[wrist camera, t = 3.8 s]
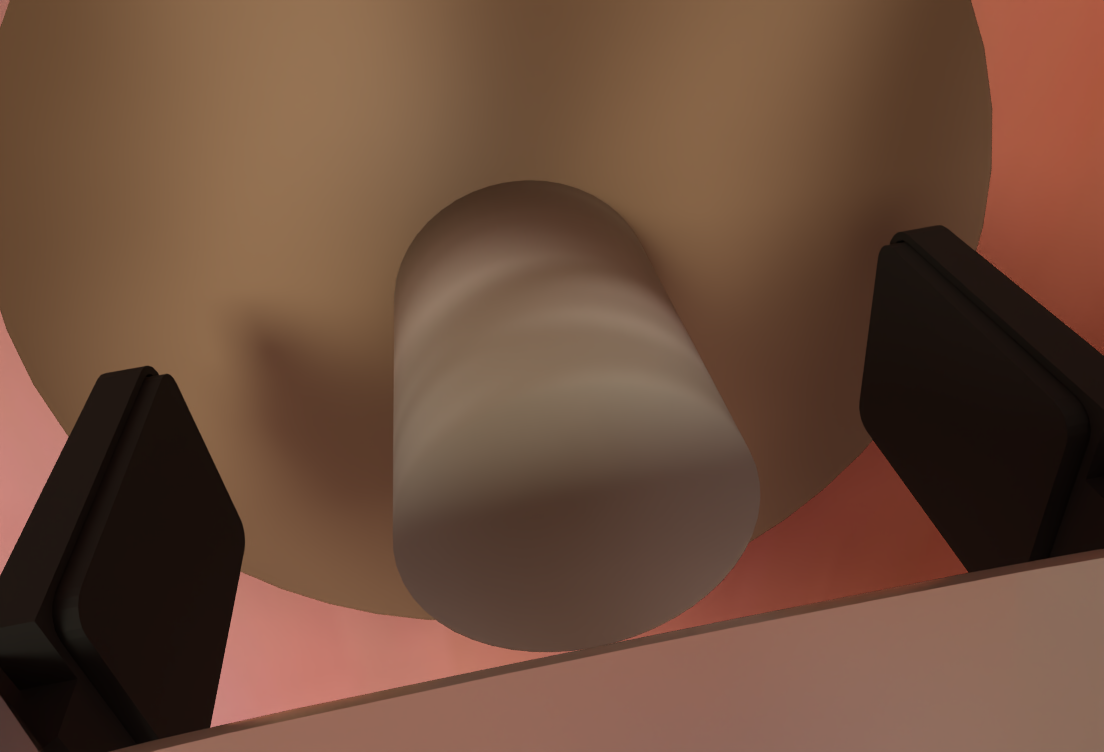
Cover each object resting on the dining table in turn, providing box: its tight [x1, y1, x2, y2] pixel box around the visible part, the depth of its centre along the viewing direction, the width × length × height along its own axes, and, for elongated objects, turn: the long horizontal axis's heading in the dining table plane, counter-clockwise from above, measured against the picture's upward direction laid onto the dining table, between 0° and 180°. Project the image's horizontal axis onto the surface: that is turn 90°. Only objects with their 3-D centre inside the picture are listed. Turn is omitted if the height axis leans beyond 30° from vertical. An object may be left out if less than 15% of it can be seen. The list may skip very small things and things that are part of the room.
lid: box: [0, 0, 992, 652], centre depth 12 cm, size 15×15×6 cm
